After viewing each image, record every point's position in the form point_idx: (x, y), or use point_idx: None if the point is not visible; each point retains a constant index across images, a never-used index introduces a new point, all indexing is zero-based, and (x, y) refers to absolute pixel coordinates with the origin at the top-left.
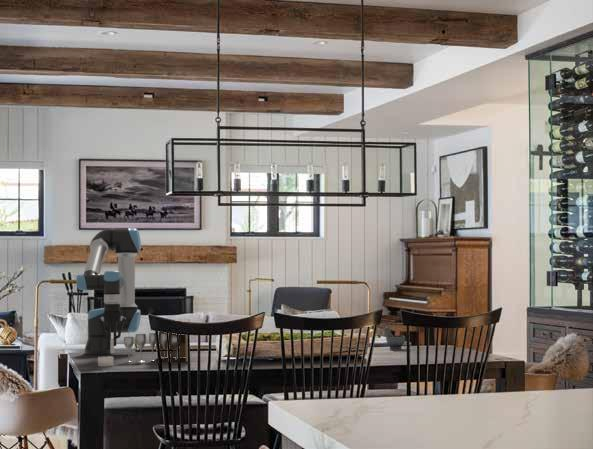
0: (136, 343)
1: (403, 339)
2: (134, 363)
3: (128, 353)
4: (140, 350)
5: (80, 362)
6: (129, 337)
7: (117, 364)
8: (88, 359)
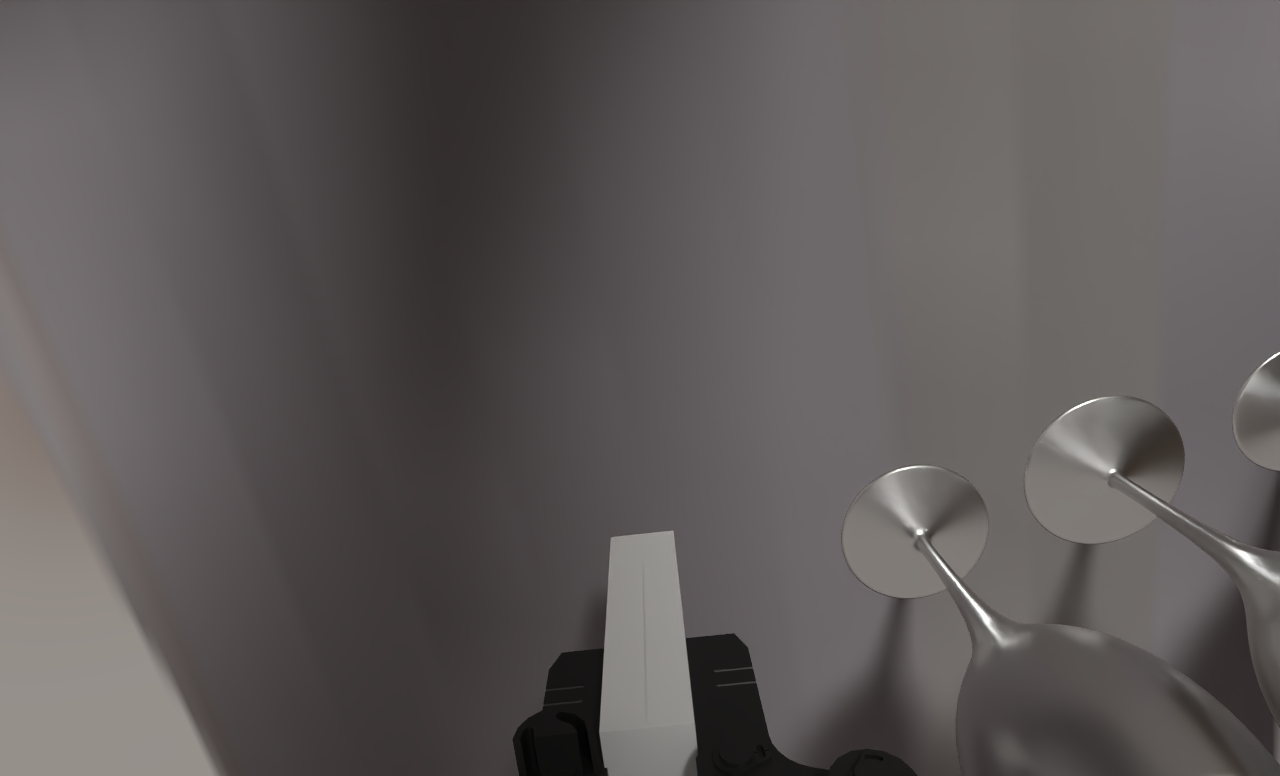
0: (1269, 708)
1: None
2: None
3: (966, 620)
4: (1234, 576)
5: (130, 511)
6: (1199, 760)
7: None
8: (81, 50)
